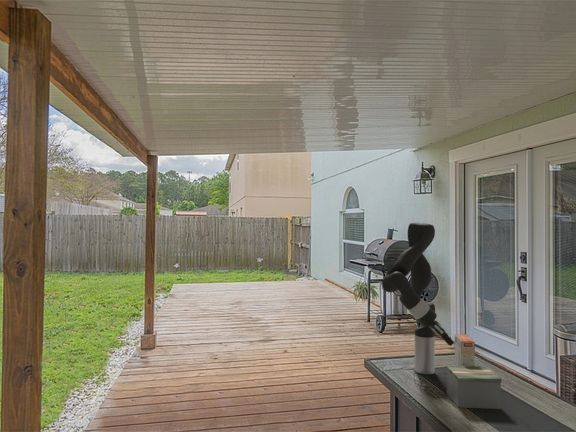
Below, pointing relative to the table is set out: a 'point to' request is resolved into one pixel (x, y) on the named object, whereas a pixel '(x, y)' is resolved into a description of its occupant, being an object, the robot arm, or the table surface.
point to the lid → (473, 374)
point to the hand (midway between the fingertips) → (451, 344)
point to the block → (474, 393)
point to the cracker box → (464, 350)
